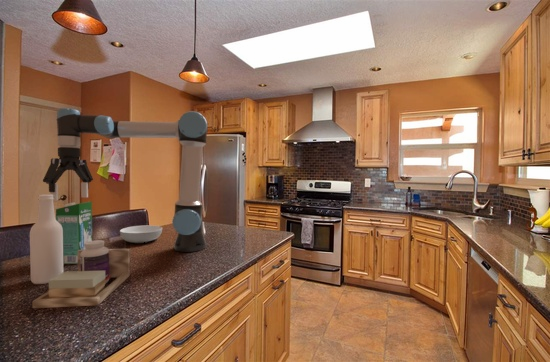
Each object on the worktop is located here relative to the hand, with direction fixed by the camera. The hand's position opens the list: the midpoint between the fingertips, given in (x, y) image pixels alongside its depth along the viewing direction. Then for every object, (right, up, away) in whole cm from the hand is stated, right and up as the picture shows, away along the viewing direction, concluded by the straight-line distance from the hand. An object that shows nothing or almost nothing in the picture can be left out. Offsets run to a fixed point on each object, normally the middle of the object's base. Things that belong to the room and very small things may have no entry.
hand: (70, 198), depth 111 cm
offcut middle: (+25, -26, -29) cm, 46 cm away
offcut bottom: (+25, -29, -29) cm, 48 cm away
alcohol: (+5, -28, -17) cm, 32 cm away
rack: (+24, -28, -24) cm, 44 cm away
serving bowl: (+11, -26, +37) cm, 46 cm away
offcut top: (+25, -24, -29) cm, 45 cm away
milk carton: (-1, -27, +4) cm, 27 cm away
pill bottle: (+24, -28, -20) cm, 41 cm away
